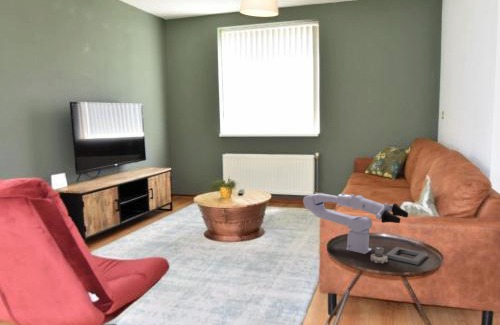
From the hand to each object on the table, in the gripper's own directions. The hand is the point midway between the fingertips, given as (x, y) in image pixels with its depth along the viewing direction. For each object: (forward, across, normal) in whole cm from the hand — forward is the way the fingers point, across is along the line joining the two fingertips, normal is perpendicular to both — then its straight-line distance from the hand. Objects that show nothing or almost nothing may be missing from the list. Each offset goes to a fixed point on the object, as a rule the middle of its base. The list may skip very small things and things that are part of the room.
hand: (403, 217), depth 177 cm
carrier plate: (+3, +3, +20) cm, 20 cm away
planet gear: (-4, -10, +19) cm, 22 cm away
